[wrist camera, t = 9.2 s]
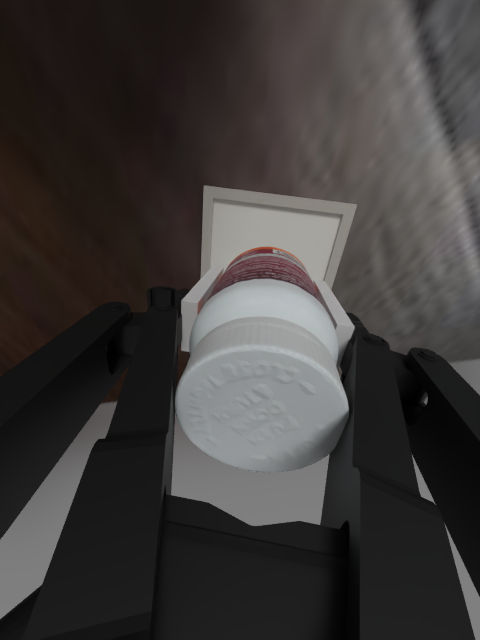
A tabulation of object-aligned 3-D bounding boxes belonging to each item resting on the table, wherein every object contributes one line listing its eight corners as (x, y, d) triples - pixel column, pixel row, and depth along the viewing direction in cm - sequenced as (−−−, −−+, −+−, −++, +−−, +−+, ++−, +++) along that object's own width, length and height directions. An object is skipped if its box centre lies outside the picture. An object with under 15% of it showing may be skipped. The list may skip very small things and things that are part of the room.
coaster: (202, 313, 26) (199, 318, 24) (207, 186, 20) (203, 185, 19) (314, 330, 25) (316, 337, 24) (352, 204, 19) (357, 204, 18)
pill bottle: (209, 263, 17) (112, 361, 7) (296, 229, 15) (346, 293, 5) (241, 336, 19) (206, 490, 9) (319, 314, 17) (384, 473, 7)
